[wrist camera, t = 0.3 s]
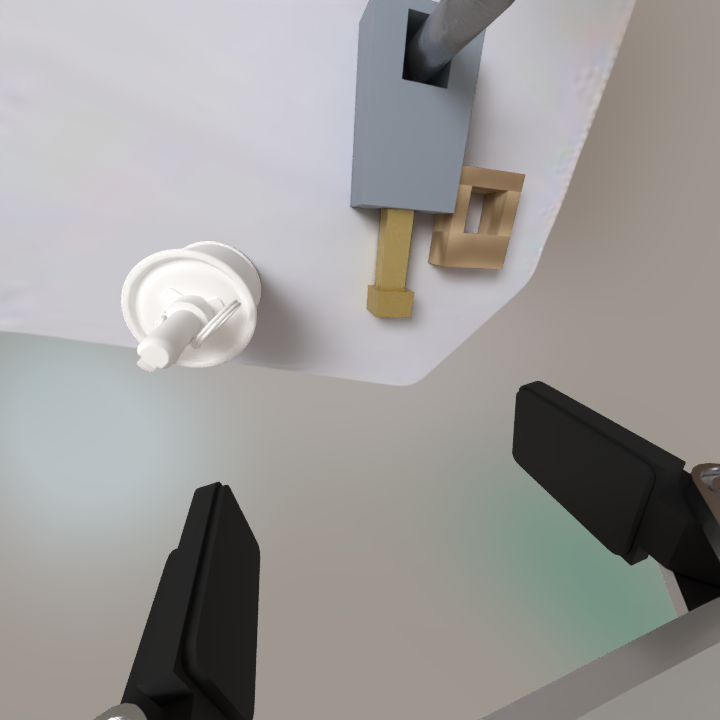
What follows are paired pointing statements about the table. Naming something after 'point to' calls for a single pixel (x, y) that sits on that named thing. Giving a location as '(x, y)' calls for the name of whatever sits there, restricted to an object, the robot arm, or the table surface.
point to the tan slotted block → (494, 224)
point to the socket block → (408, 115)
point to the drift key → (392, 266)
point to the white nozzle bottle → (191, 305)
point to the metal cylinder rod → (447, 35)
